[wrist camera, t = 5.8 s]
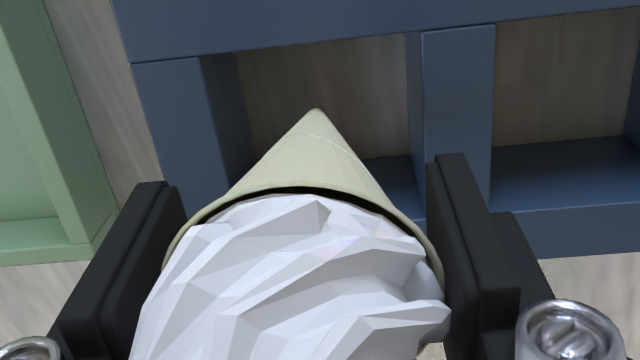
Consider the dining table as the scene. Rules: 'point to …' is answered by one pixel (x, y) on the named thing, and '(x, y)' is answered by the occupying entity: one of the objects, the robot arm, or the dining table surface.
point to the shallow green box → (45, 150)
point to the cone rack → (422, 100)
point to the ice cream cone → (297, 266)
